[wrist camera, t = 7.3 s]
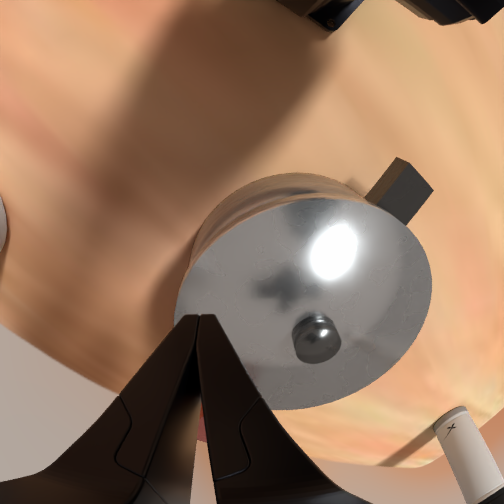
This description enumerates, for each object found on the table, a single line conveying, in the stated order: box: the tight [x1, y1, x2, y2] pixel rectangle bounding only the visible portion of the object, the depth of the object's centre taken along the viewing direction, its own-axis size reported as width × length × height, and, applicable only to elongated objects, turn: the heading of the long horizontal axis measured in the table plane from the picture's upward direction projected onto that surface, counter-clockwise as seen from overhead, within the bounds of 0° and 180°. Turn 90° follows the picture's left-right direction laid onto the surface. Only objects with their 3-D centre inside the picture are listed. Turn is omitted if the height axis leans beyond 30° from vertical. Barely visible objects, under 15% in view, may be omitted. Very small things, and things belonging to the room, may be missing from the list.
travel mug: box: [433, 406, 504, 504], centre depth 28 cm, size 6×7×20 cm
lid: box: [174, 193, 432, 442], centre depth 17 cm, size 20×15×2 cm
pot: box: [189, 157, 434, 266], centre depth 20 cm, size 23×14×5 cm, turn 144°
